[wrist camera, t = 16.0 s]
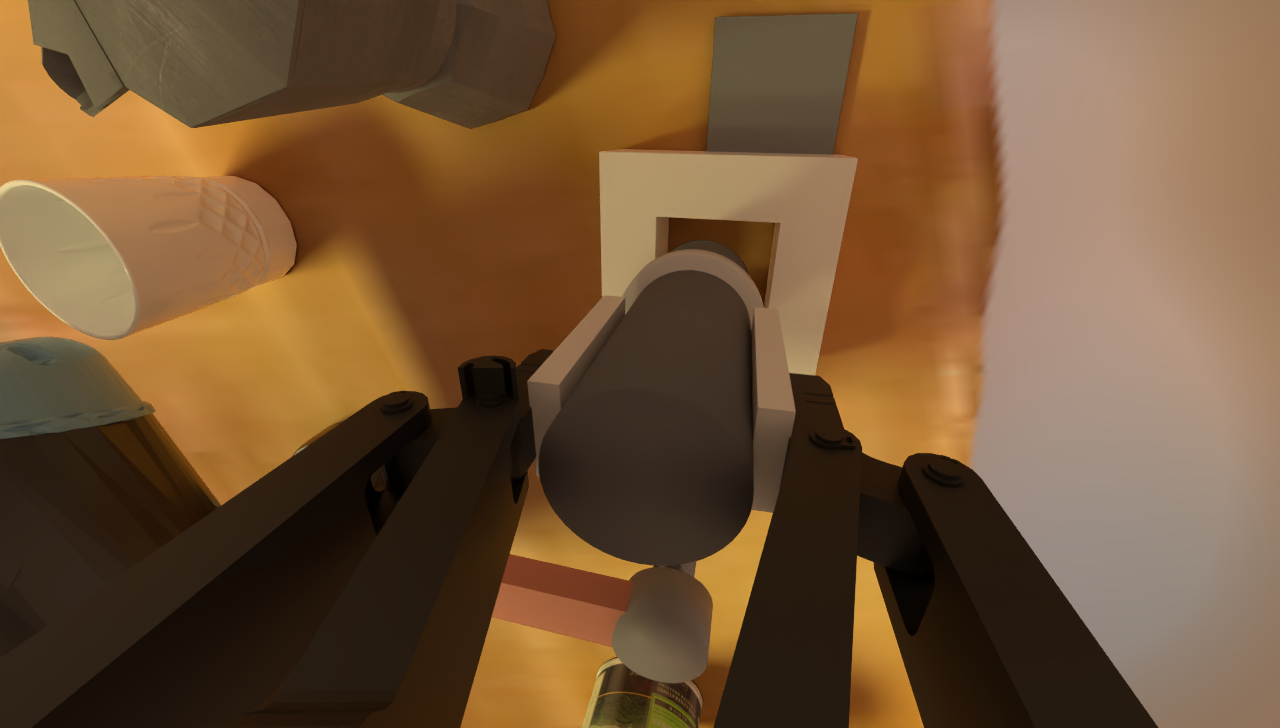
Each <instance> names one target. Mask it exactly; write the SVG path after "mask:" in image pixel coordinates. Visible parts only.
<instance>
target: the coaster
mask: <svg viewBox="0 0 1280 728" xmlns="http://www.w3.org/2000/svg"><path fill="white" fill-rule="evenodd" d="M857 16H858V13H847V14H809V15H772V16H734V17H716V19H715V33H714V47H713V62H712V76H711V91H710V105H709V119H708V134H707V148H706V151H708V152H748V153H789V154H829V155H833V152H834V146H835V140H836V135H837V129H838V123H839V118H840V112H841V106H842V101H843V95H844V89H845V84H846V78H847V72H848V67H849V61H850V55H851V50H852V44H853V38H854V33H855V27H856V21H857Z"/></svg>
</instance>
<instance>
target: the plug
mask: <svg viewBox="0 0 1280 728" xmlns="http://www.w3.org/2000/svg"><path fill="white" fill-rule="evenodd" d="M622 297H625V316H624V318H623V319H622V320H621V322H620V323H619V325H618V326H617V328H616V329H615V331H614V332H613V334H612V335H611V337H610V338H609V340H608V341H607V342H606V344H605V345H604V347H603V348H602V350H601V351H600V353H599V354H598V356H597V357H596V359H595V360H594V362H593V363H592V364H591V366H590V367H589V369H588V370H587V372H586V373H585V375H584V376H583V378H582V379H581V381H580V382H579V384H578V385H577V386H576V388H575V389H574V391H573V392H572V394H571V395H570V397H569V398H568V400H567V401H566V403H565V404H564V406H563V407H562V408H561V410H560V411H559V413H558V414H557V416H556V417H555V419H554V420H553V422H552V423H551V425H550V426H549V428H548V429H547V431H546V433H545V435H544V437H543V440H542V443H541V447H540V452H539V475H540V481H541V484H542V487H543V490H544V493H545V495H546V497H547V499H548V501H549V503H550V505H551V506H552V508H553V510H554V511H555V513H556V514H557V515H558V516H559V518H560V519H561V520H562V521H563V523H564V524H565V525H566V526H567V527H568V528H569V529H570V530H571V531H573V532H574V533H575V534H576V535H577V536H579V537H580V538H581V539H583V540H584V541H586V542H587V543H589V544H590V545H592V546H593V547H595V548H597V549H599V550H601V551H603V552H605V553H607V554H609V555H612V556H614V557H617V558H620V559H623V560H626V561H630V562H635V563H639V564H646V565H657V566H669V565H680V564H686V563H691V562H694V561H698V560H701V559H704V558H706V557H708V556H711V555H713V554H715V553H716V552H718V551H720V550H721V549H723V548H724V547H725V546H727V545H728V544H729V543H730V542H732V541H733V539H734V538H735V537H736V536H737V535H738V534H739V533H740V531H741V530H742V528H743V527H744V525H745V524H746V522H747V519H748V517H749V515H750V512H751V508H752V504H753V495H754V469H753V433H752V371H751V329H752V321H753V313H754V307H759V308H764V306H763V301H762V298H761V295H760V293H759V290H758V289H757V287H756V285H755V283H754V282H753V280H752V279H751V278H750V276H749V274H748V271H747V269H746V267H745V265H744V263H743V261H742V260H741V259H740V257H739V256H738V255H737V254H736V253H735V252H734V251H732V250H731V249H730V248H728V247H726V246H724V245H722V244H720V243H717V242H713V241H708V240H696V241H691V242H687V243H684V244H682V245H680V246H678V247H676V248H675V249H673V250H672V251H671V252H669V253H667V254H665V255H662V256H660V257H658V258H656V259H655V260H653V261H651V262H650V263H649V264H647V265H646V266H645V267H644V268H643V269H642V270H641V271H640V272H639V273H638V274H637V275H636V276H635V278H634V279H633V280H632V281H631V283H630V284H629V286H628V287H627V288H626V290H625V292H624V294H623V296H622Z"/></svg>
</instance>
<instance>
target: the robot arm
mask: <svg viewBox="0 0 1280 728" xmlns="http://www.w3.org/2000/svg"><path fill="white" fill-rule="evenodd" d="M624 316H625V297H619V296H607V295H604V296H603V297H602V298H601V299H600V300H599V302H598V303H597V304H596V305H595V306H594V307H593V308H592V309H591V311H590V312H589V313H588V314H587V315H586V316H585V317H584V318H583V319H582V321H581V322H580V323H579V324H578V325H577V326H576V327H575V328H574V329H573V331H572V332H571V333H570V334H569V335H568V336H567V337H566V338H565V340H564V341H563V342H562V343H561V344H560V345H559V346H558V347H557V348H556V350H545V349H541V350H539V351H537V352H535V353H533V354H531V355H529V356H528V357H527V358H526V359H525V360H524V361H523V362H522V363H521V365H519V366H518V367H517V368H516V363H515V362H514V361H513V360H512V359H510V358H507V357H503V356H483V357H478V358H474V359H471V360H469V361H466V362H464V363H463V364H461V365H460V366H459V367H458V372H459V378H460V384H461V390H462V396H463V400H462V401H461V403H460V404H459V406H458V407H457V408H445V409H430V407H429V402H428V398H427V397H426V396H425V395H424V394H422V393H419V392H414V391H399V392H398V391H397V392H392V393H390V394H388V395H385V396H382V397H380V398H378V399H376V400H374V401H372V402H371V403H369V404H368V405H367V406H365V407H364V408H362V409H361V410H359V411H358V412H356V413H355V414H353V415H352V416H351V417H349V418H348V419H346V420H345V421H343V422H342V423H338V424H335V425H332V426H330V427H328V428H326V429H324V430H323V431H321V432H320V433H319V434H317V435H316V436H314V437H313V438H311V439H310V440H308V441H307V442H306V443H304V444H303V445H302V446H301V447H300V448H299V449H298V450H297V451H296V452H295V453H294V454H293V456H292V457H291V458H290V459H288V460H287V461H285V462H284V463H282V464H281V465H280V466H278V467H277V468H275V469H274V470H272V471H271V472H269V473H268V474H267V475H265V476H264V477H262V478H261V479H259V480H258V481H256V482H255V483H253V484H252V485H251V486H249V487H248V488H246V489H245V490H243V491H242V492H240V493H239V494H238V495H236V496H235V497H233V498H232V499H230V500H229V501H227V502H226V503H225V504H223V505H222V506H221V504H220V503H219V502H218V500H217V499H216V498H215V496H214V495H213V494H212V492H211V491H210V490H209V488H208V487H207V486H206V484H205V483H204V482H203V480H202V479H201V478H200V476H199V475H198V474H197V472H196V471H195V470H194V468H193V467H192V466H191V464H190V463H189V462H188V460H187V459H186V458H185V456H184V455H183V454H182V452H181V451H180V450H179V448H178V447H177V446H176V444H175V443H174V442H173V440H172V439H171V438H170V436H169V435H168V434H167V432H166V431H165V430H164V428H163V427H162V426H161V424H160V423H159V422H158V420H157V419H156V418H155V416H154V415H153V414H152V413H154V412H155V409H154V408H153V407H152V405H151V404H150V403H147V402H145V401H142V400H141V399H140V398H139V397H138V395H137V394H136V393H135V392H134V391H133V390H132V388H131V387H130V386H129V385H128V384H127V383H126V381H125V380H124V379H123V378H122V377H121V376H120V374H119V373H118V372H117V371H116V370H115V369H114V367H113V366H112V365H111V364H110V363H109V361H108V360H107V359H106V358H105V357H104V356H103V355H102V354H101V353H100V352H98V351H97V350H95V349H94V348H92V347H90V346H88V345H86V344H84V343H81V342H78V341H74V340H71V339H65V338H59V337H36V338H29V339H21V340H14V341H8V342H2V343H0V728H460V726H461V723H462V719H463V716H464V712H465V709H466V705H467V702H468V698H469V695H470V691H471V687H472V684H473V680H474V677H475V673H476V670H477V666H478V663H479V659H480V656H481V652H482V649H483V645H484V642H485V638H486V635H487V631H488V628H489V624H490V621H491V617H492V614H493V610H494V607H495V603H496V600H497V596H498V593H499V589H500V586H501V582H502V579H503V575H504V572H505V568H506V564H507V561H508V557H509V554H510V550H511V547H512V543H513V540H514V536H515V533H516V529H517V526H518V522H519V519H520V515H521V512H522V508H523V505H524V501H525V498H526V494H527V491H528V487H529V481H528V471H527V470H528V469H529V467H530V465H531V464H532V462H533V461H534V459H535V465H536V476H537V477H540V475H539V452H540V447H541V443H542V440H543V437H544V435H545V433H546V431H547V429H548V428H549V426H550V425H551V423H552V422H553V420H554V419H555V417H556V416H557V414H558V413H559V411H560V410H561V408H562V407H563V406H564V404H565V403H566V401H567V400H568V398H569V397H570V395H571V394H572V392H573V391H574V389H575V388H576V386H577V385H578V384H579V382H580V381H581V379H582V378H583V376H584V375H585V373H586V372H587V370H588V369H589V367H590V366H591V364H592V363H593V362H594V360H595V359H596V357H597V356H598V354H599V353H600V351H601V350H602V348H603V347H604V345H605V344H606V342H607V341H608V340H609V338H610V337H611V335H612V334H613V332H614V331H615V329H616V328H617V326H618V325H619V323H620V322H621V320H622V319H623V318H624ZM751 371H752V433H753V469H754V495H753V504H752V508H751V509H752V510H759V511H765V512H772V513H773V515H772V519H771V523H770V526H769V530H768V533H767V537H766V541H765V544H764V548H763V551H762V555H761V559H760V562H759V566H758V569H757V573H756V577H755V580H754V584H753V587H752V591H751V595H750V598H749V602H748V606H747V609H746V613H745V616H744V620H743V624H742V627H741V631H740V634H739V638H738V642H737V645H736V649H735V652H734V656H733V660H732V663H731V667H730V670H729V674H728V678H727V681H726V685H725V689H724V692H723V696H722V699H721V703H720V707H719V710H718V714H717V717H716V721H715V725H714V728H848V727H849V707H850V686H851V666H852V645H853V624H854V604H855V583H856V563H857V556H860V557H862V558H865V559H867V560H870V561H872V562H874V570H875V573H876V576H877V579H878V583H879V586H880V589H881V592H882V595H883V598H884V602H885V605H886V608H887V611H888V614H889V617H890V621H891V624H892V627H893V630H894V633H895V637H896V640H897V643H898V646H899V649H900V652H901V656H902V659H903V662H904V665H905V668H906V671H907V675H908V678H909V681H910V684H911V687H912V690H913V694H914V697H915V700H916V703H917V706H918V709H919V713H920V716H921V719H922V722H923V725H924V728H1158V726H1157V725H1156V724H1155V722H1154V721H1153V719H1152V718H1151V717H1150V715H1149V714H1148V712H1147V711H1146V710H1145V708H1144V707H1143V705H1142V704H1141V703H1140V701H1139V700H1138V698H1137V697H1136V696H1135V694H1134V693H1133V691H1132V690H1131V688H1130V687H1129V686H1128V684H1127V683H1126V681H1125V680H1124V679H1123V677H1122V676H1121V674H1120V673H1119V672H1118V670H1117V669H1116V668H1115V666H1114V665H1113V663H1112V662H1111V660H1110V659H1109V657H1108V656H1107V655H1106V653H1105V652H1104V651H1103V649H1102V648H1101V646H1100V645H1099V644H1098V642H1097V641H1096V639H1095V638H1094V636H1093V635H1092V634H1091V632H1090V631H1089V629H1088V628H1087V627H1086V625H1085V624H1084V622H1083V621H1082V620H1081V618H1080V617H1079V615H1078V614H1077V612H1076V611H1075V610H1074V608H1073V607H1072V605H1071V604H1070V603H1069V601H1068V600H1067V598H1066V597H1065V596H1064V594H1063V593H1062V591H1061V590H1060V589H1059V587H1058V586H1057V584H1056V583H1055V582H1054V580H1053V579H1052V577H1051V576H1050V574H1049V573H1048V572H1047V570H1046V569H1045V568H1044V566H1043V565H1042V563H1041V562H1040V560H1039V559H1038V558H1037V556H1036V555H1035V553H1034V552H1033V550H1032V549H1031V548H1030V546H1029V545H1028V544H1027V542H1026V541H1025V539H1024V538H1023V537H1022V535H1021V534H1020V532H1019V531H1018V529H1017V528H1016V527H1015V525H1014V524H1013V522H1012V521H1011V520H1010V518H1009V517H1008V515H1007V514H1006V513H1005V511H1004V510H1003V508H1002V507H1001V506H1000V504H999V503H998V501H997V500H996V498H995V497H994V496H993V494H992V493H991V492H990V490H989V489H988V487H987V486H986V485H985V483H984V482H983V480H982V479H981V478H980V477H979V476H978V475H977V474H976V473H975V472H974V471H973V470H972V469H970V468H969V467H967V466H965V465H964V464H962V463H961V462H959V461H957V460H955V459H951V458H950V457H946V456H943V455H936V454H931V453H917V454H914V455H911V456H909V457H908V458H907V459H906V460H905V462H904V465H903V468H902V467H899V466H896V465H892V464H889V463H886V462H883V461H880V460H877V459H874V458H872V457H870V456H868V455H866V454H864V453H862V446H861V443H860V441H859V440H858V439H857V438H856V437H855V436H854V435H853V434H852V433H850V432H849V431H847V430H845V429H844V427H843V424H842V421H841V418H840V415H839V412H838V409H837V406H836V402H835V399H834V398H833V393H832V390H831V387H830V385H829V384H828V383H827V382H825V381H824V380H823V379H822V378H821V377H820V376H815V375H806V374H796V373H789V370H788V364H787V358H786V353H785V347H784V341H783V335H782V329H781V324H780V318H779V312H778V309H771V308H759V307H754V313H753V321H752V329H751Z"/></svg>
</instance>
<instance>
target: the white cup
mask: <svg viewBox="0 0 1280 728" xmlns="http://www.w3.org/2000/svg"><path fill="white" fill-rule="evenodd" d="M0 246H1V249H2V251H3V253H4V255H5V257H6V259H7V260H8V262H9V264H10V265H11V267H12V269H13V270H14V272H15V273H16V275H17V276H18V277H19V279H20V280H21V281H22V283H23V284H24V285H25V286H26V288H27V289H28V290H29V291H30V292H31V293H32V295H33V296H34V297H35V298H36V299H37V300H38V301H39V302H40V303H41V304H42V305H43V306H44V307H46V308H47V309H48V310H49V311H50V312H51V313H53V314H54V315H55V316H56V317H58V318H59V319H60V320H62V321H63V322H65V323H66V324H68V325H69V326H71V327H73V328H74V329H76V330H78V331H80V332H82V333H84V334H87V335H89V336H92V337H95V338H99V339H105V340H116V339H121V338H124V337H127V336H130V335H132V334H135V333H138V332H140V331H143V330H146V329H148V328H151V327H154V326H157V325H159V324H162V323H165V322H168V321H170V320H173V319H176V318H179V317H181V316H184V315H187V314H190V313H192V312H195V311H198V310H201V309H203V308H206V307H208V306H211V305H213V304H216V303H218V302H220V301H222V300H225V299H228V298H231V297H234V296H236V295H239V294H241V293H243V292H245V291H247V290H249V289H250V288H252V287H255V286H258V285H261V284H264V283H267V282H270V281H273V280H275V279H278V278H281V277H283V276H284V275H285V274H286V273H287V272H288V271H289V270H290V269H291V267H292V266H293V265H294V263H295V256H296V249H297V243H296V239H295V236H294V232H293V229H292V225H291V222H290V220H289V219H288V217H287V216H286V214H285V213H284V211H283V209H282V208H281V206H280V205H279V203H278V202H277V200H276V199H274V198H273V197H272V196H271V195H270V194H268V193H267V192H266V191H265V190H264V189H263V188H261V187H260V186H259V185H258V184H256V183H254V182H251V181H248V180H245V179H242V178H239V177H236V176H215V177H186V176H157V177H151V176H127V177H96V178H62V179H23V180H13V181H10V182H7V183H5V184H4V185H2V186H1V187H0Z"/></svg>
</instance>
